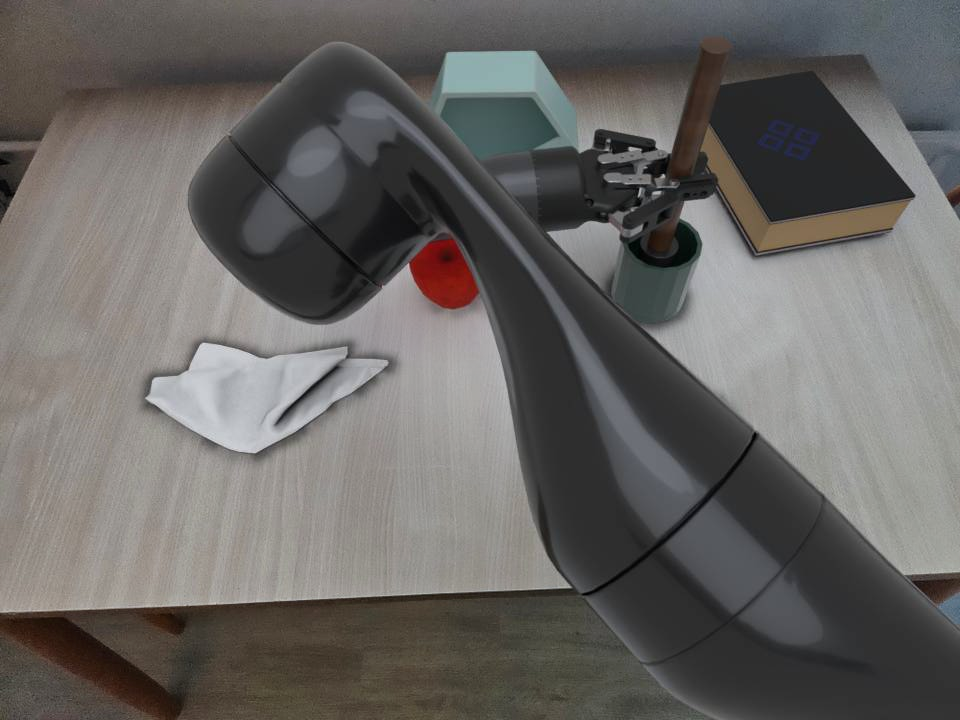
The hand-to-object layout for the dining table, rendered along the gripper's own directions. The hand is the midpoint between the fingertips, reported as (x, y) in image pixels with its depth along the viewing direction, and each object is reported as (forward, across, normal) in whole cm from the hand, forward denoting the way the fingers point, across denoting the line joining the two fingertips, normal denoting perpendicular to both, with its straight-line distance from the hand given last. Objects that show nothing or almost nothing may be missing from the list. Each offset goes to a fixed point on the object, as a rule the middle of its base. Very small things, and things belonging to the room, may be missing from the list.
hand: (709, 173), depth 60 cm
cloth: (-47, -8, +18) cm, 51 cm away
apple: (-25, +3, +18) cm, 31 cm away
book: (+19, +16, +18) cm, 31 cm away
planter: (-18, +20, +18) cm, 32 cm away
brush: (-3, 0, +15) cm, 15 cm away
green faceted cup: (-3, 0, +18) cm, 18 cm away
